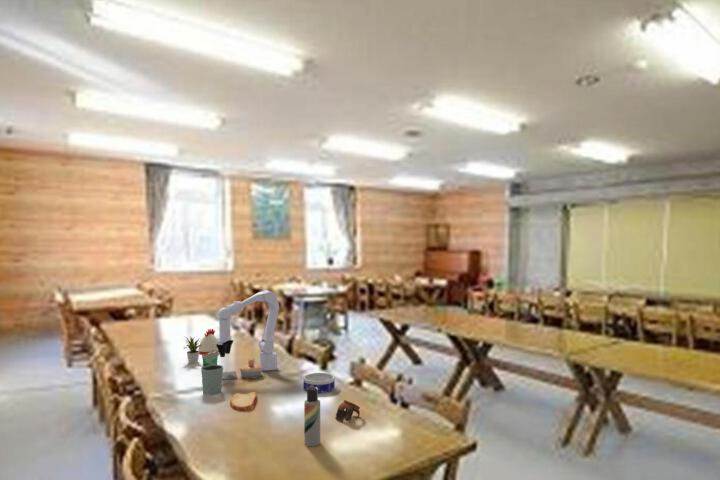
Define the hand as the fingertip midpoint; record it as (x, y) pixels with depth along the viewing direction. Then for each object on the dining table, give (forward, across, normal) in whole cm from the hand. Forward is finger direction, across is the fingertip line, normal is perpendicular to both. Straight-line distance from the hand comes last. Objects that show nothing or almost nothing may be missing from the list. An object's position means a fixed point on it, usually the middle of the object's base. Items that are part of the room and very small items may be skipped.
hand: (225, 355), depth 268 cm
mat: (+10, +6, 0) cm, 12 cm away
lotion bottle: (+10, +86, +64) cm, 108 cm away
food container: (+10, -7, -10) cm, 16 cm away
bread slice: (+11, +46, +27) cm, 54 cm away
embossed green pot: (+10, +32, +6) cm, 34 cm away
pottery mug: (+11, +62, +74) cm, 97 cm away
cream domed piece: (+10, -50, -29) cm, 59 cm away
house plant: (+10, -23, -30) cm, 39 cm away
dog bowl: (+11, +22, +56) cm, 61 cm away
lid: (+6, +3, +16) cm, 17 cm away
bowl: (+10, +3, +16) cm, 19 cm away
